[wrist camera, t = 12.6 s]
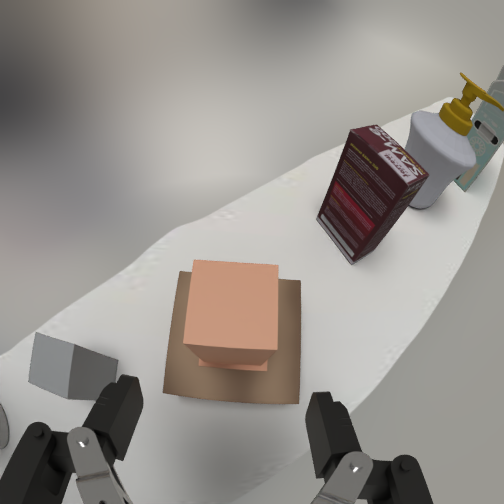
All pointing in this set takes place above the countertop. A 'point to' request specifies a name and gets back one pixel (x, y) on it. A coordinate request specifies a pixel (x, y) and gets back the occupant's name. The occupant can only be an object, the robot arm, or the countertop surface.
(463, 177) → the device
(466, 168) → the soap bottle
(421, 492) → the robot arm
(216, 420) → the countertop surface
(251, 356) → the terracotta pillar
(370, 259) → the countertop surface
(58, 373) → the slate-grey pillar
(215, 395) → the walnut base block
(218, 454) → the countertop surface
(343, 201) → the supplement box
